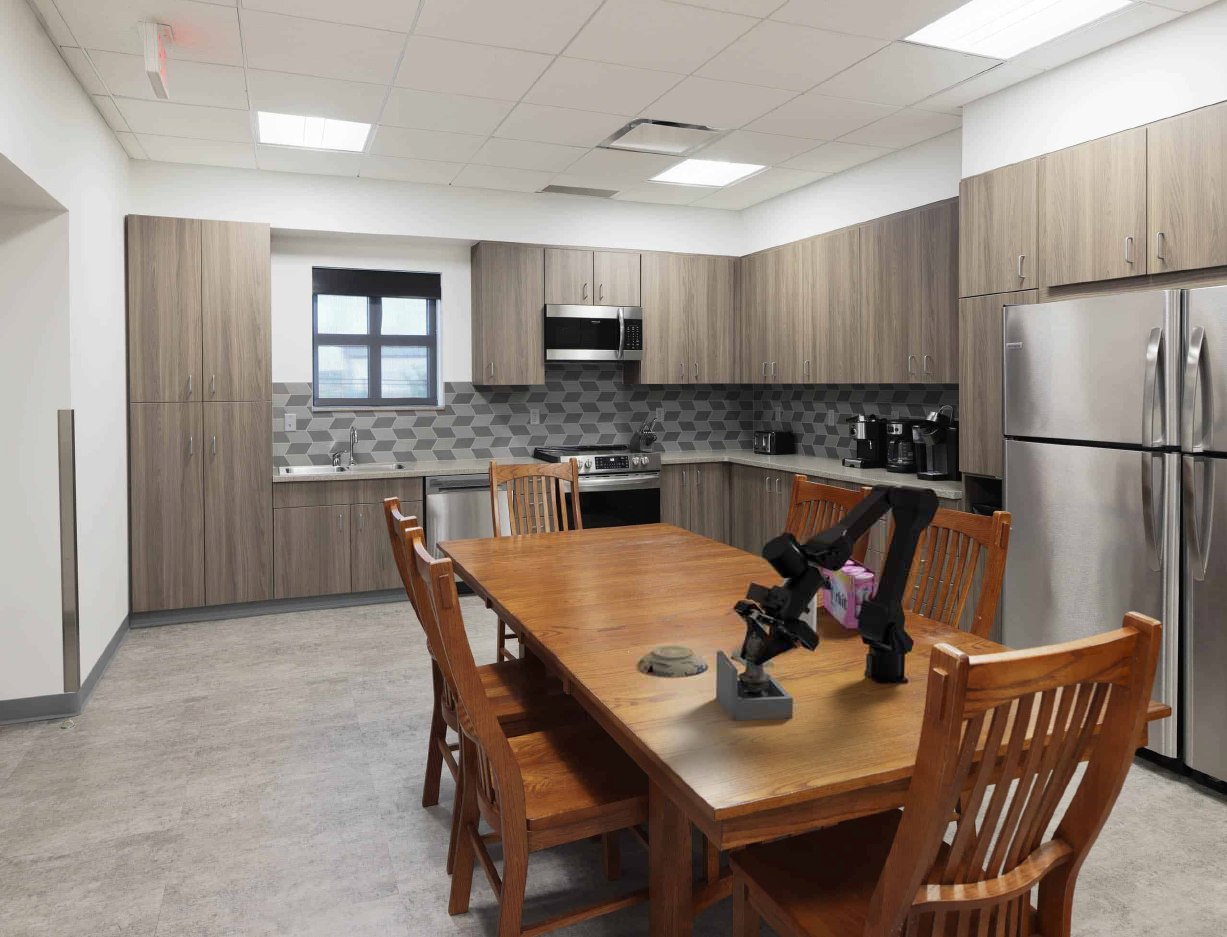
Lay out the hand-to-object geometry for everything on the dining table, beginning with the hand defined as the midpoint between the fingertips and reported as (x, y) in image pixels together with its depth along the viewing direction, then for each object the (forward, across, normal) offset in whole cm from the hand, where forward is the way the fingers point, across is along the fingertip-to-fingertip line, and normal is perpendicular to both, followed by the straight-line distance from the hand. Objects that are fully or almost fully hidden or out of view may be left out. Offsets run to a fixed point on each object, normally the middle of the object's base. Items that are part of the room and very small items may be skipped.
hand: (748, 661), depth 148 cm
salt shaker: (+4, 0, +6) cm, 7 cm away
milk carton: (-21, -32, +34) cm, 51 cm away
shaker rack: (+5, 0, +7) cm, 9 cm away
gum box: (-36, -39, +50) cm, 73 cm away
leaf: (-4, -16, +18) cm, 24 cm away
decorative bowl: (+6, -27, +7) cm, 29 cm away
